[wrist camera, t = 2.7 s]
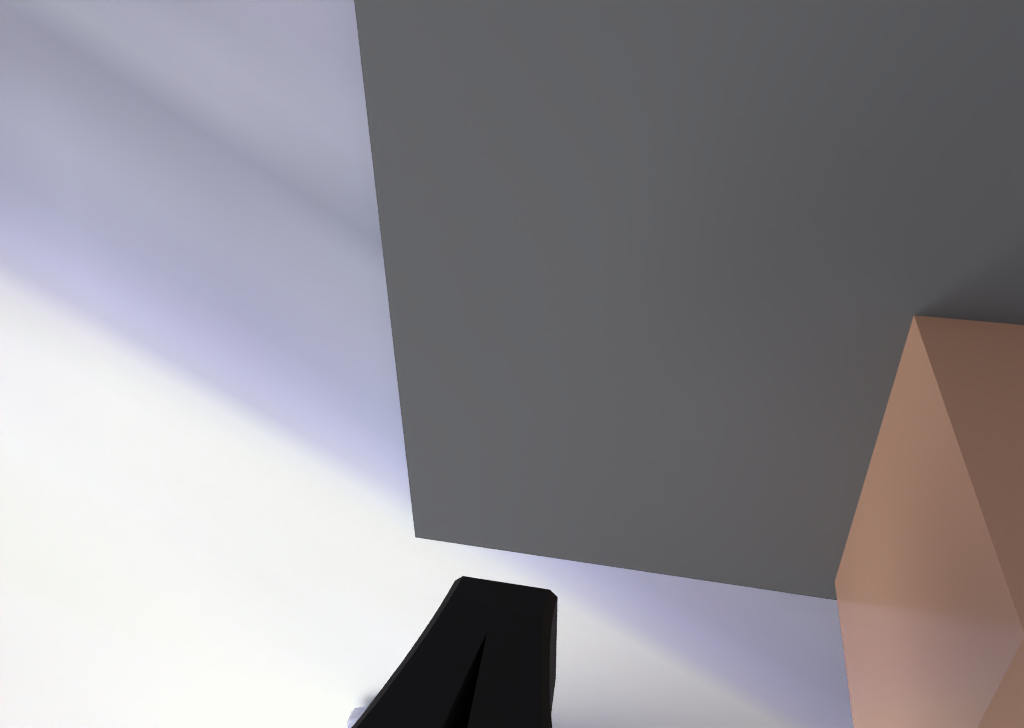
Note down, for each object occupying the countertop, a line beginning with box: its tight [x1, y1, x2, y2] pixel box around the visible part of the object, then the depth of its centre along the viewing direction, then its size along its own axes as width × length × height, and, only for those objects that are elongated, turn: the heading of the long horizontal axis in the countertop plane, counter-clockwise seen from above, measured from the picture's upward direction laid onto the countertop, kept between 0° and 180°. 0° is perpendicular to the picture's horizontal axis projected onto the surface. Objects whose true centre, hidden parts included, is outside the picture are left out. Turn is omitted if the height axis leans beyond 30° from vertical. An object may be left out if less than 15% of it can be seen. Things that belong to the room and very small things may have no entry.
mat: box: [354, 0, 1024, 600], centre depth 13 cm, size 12×17×1 cm
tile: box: [835, 315, 1024, 728], centre depth 12 cm, size 6×2×6 cm, turn 1°
